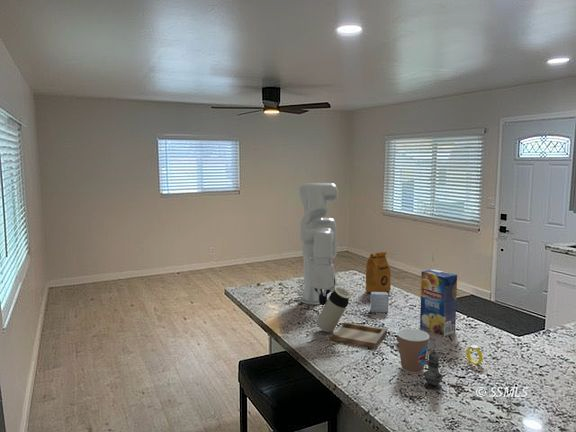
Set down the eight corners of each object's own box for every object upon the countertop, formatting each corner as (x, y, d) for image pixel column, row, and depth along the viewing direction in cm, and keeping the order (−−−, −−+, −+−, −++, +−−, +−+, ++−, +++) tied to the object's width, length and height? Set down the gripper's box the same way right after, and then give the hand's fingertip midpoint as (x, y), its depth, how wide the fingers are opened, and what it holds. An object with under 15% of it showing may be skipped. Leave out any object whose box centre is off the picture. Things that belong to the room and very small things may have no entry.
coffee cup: (423, 378, 136) (424, 342, 135) (392, 371, 141) (393, 336, 140) (431, 366, 145) (432, 332, 143) (401, 359, 150) (402, 326, 149)
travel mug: (331, 335, 173) (351, 300, 167) (314, 326, 174) (332, 291, 168) (334, 325, 180) (353, 292, 174) (317, 317, 181) (335, 283, 175)
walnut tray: (329, 339, 168) (329, 334, 167) (343, 326, 182) (343, 321, 181) (375, 348, 159) (375, 343, 159) (386, 333, 173) (386, 329, 173)
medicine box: (387, 309, 203) (387, 292, 202) (388, 312, 198) (388, 294, 197) (370, 309, 203) (370, 291, 202) (371, 312, 199) (371, 294, 198)
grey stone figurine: (419, 381, 134) (420, 345, 133) (437, 381, 135) (439, 344, 133) (427, 391, 128) (428, 353, 127) (446, 390, 129) (447, 352, 127)
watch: (464, 360, 149) (464, 344, 149) (470, 359, 150) (470, 342, 150) (478, 366, 144) (477, 349, 143) (484, 365, 145) (484, 348, 144)
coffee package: (393, 292, 230) (393, 252, 227) (374, 296, 224) (375, 255, 222) (381, 288, 239) (381, 249, 236) (363, 291, 233) (363, 251, 231)
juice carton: (455, 332, 174) (457, 274, 172) (443, 336, 170) (445, 277, 168) (431, 323, 184) (433, 269, 182) (419, 326, 180) (421, 271, 178)
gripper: (302, 260, 175) (302, 304, 176) (336, 264, 167) (336, 309, 169) (310, 257, 181) (310, 299, 183) (343, 260, 174) (343, 304, 176)
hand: (322, 304), depth 176 cm, fingers closed
